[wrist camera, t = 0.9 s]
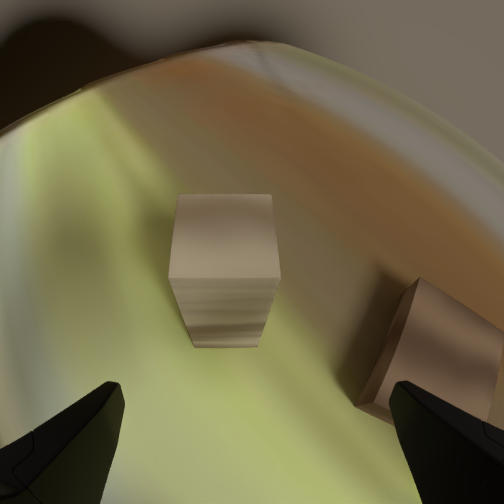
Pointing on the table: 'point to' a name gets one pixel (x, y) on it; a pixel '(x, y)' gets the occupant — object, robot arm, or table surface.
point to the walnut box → (436, 354)
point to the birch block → (224, 267)
